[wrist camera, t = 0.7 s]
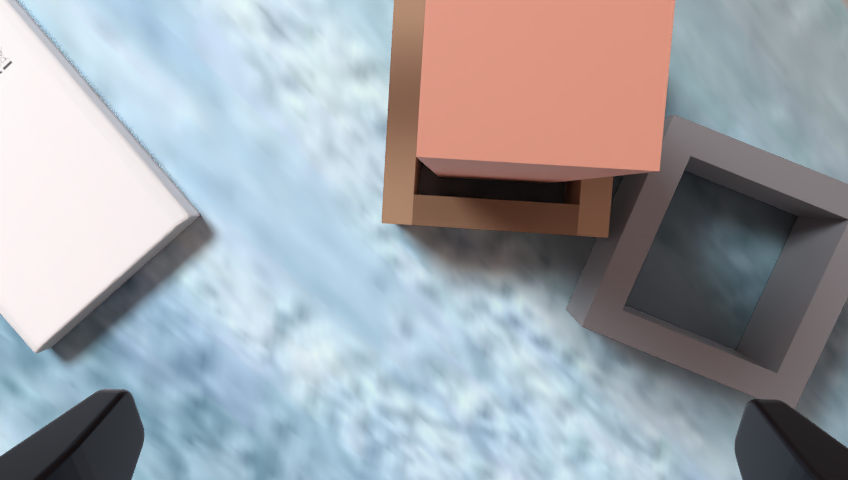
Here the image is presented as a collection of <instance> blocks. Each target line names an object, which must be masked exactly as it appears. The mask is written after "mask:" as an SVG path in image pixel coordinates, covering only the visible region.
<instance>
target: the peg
mask: <svg viewBox="0 0 848 480" xmlns="http://www.w3.org/2000/svg"><path fill="white" fill-rule="evenodd" d="M674 7H675V0H426V1H425V17H424V34H423V50H422V67H421V84H420V100H419V117H418V133H417V150H416V157H417V158H418V159H419V160H420V161H421V162H423V163H424V164H425V165H426V166H427V167H428V168H429V169H430V170H432V171H433V172H434V173H435V174H436V175H437V176H438V177H449V178H465V179H482V180H498V181H514V182H531V183H555V182H564V181H573V180H583V179H592V178H601V177H611V176H620V175H629V174H639V173H648V172H657V171H660V160H661V150H662V139H663V128H664V117H665V106H666V95H667V84H668V73H669V62H670V51H671V40H672V29H673V18H674Z"/></svg>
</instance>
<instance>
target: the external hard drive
mask: <svg viewBox="0 0 848 480" xmlns="http://www.w3.org/2000/svg"><path fill="white" fill-rule="evenodd" d="M199 216H200V213H199V212H198V211H197V209H196V208H195V207H194V206H193V205H192V204H191V202H190V201H189V200H188V199H187V198H186V197H185V196H184V194H183V193H182V192H181V191H180V190H179V189H178V187H177V186H176V185H175V184H174V183H173V182H172V180H171V179H170V178H169V177H168V176H167V174H166V173H165V172H164V171H163V170H162V169H161V168H160V167H159V165H158V164H157V163H156V162H155V161H154V160H153V159H152V157H151V156H150V155H149V154H148V153H147V151H146V150H145V149H144V148H143V147H142V146H141V144H140V143H139V142H138V141H137V140H136V139H135V138H134V136H133V135H132V134H131V133H130V132H129V131H128V129H127V128H126V127H125V126H124V125H123V123H122V122H121V121H120V120H119V119H118V118H117V117H116V115H115V114H114V113H113V112H112V111H111V110H110V109H109V107H108V106H107V105H106V104H105V103H104V101H103V100H102V99H101V98H100V97H99V95H98V94H97V93H96V92H95V91H94V90H93V89H92V87H91V86H90V85H89V84H88V83H87V82H86V80H85V79H84V78H83V77H82V76H81V75H80V74H79V72H78V71H77V70H76V69H75V68H74V66H73V65H72V64H71V63H70V62H69V61H68V60H67V58H66V57H65V56H64V55H63V54H62V52H61V51H60V50H59V49H58V48H57V47H56V45H55V44H54V43H53V42H52V41H51V40H50V38H49V37H48V36H47V35H46V34H45V33H44V32H43V30H42V29H41V28H40V27H39V26H38V25H37V23H36V22H35V21H34V20H33V19H32V18H31V16H30V15H29V14H28V13H27V12H26V11H25V9H24V8H23V7H22V6H21V5H20V4H19V3H18V1H17V0H0V313H1V314H2V316H3V317H4V318H5V319H6V320H7V321H8V322H9V324H10V325H11V326H12V327H13V328H14V329H15V331H16V332H17V333H18V334H19V335H20V336H21V337H22V339H23V340H24V341H25V342H26V343H27V344H28V346H29V347H30V348H31V349H32V350H33V351H34V352H35V353H39V352H41V351H43V350H46V349H49V348H51V347H52V346H54V345H55V344H56V343H57V342H58V341H60V340H61V339H62V338H63V337H64V336H65V335H66V334H67V333H69V332H70V331H71V330H72V329H73V328H74V327H75V326H76V325H78V324H79V323H80V322H81V321H82V320H83V319H84V318H85V317H86V316H88V315H89V314H90V313H91V312H92V311H93V310H94V309H96V308H97V307H98V306H99V305H100V304H101V303H102V302H103V301H105V300H106V299H107V298H108V297H109V296H110V295H111V294H112V293H114V292H115V291H116V290H117V289H118V288H119V287H120V286H121V285H123V284H124V283H125V282H126V281H127V280H128V279H129V278H130V277H132V276H133V275H134V274H135V273H136V272H137V271H138V270H140V269H141V268H142V267H143V266H144V265H145V264H146V263H147V262H149V261H150V260H151V259H152V258H153V257H154V256H155V255H157V254H158V253H159V252H160V251H161V250H162V249H163V248H164V247H166V246H167V245H168V244H169V243H170V242H171V241H172V240H174V239H175V238H176V237H177V236H178V235H179V234H180V233H181V232H183V231H184V230H185V229H186V228H187V227H188V226H189V225H191V224H192V223H193V222H194V221H195V220H196V219H197V218H198V217H199Z"/></svg>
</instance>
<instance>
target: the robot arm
mask: <svg viewBox="0 0 848 480" xmlns="http://www.w3.org/2000/svg"><path fill="white" fill-rule="evenodd" d="M143 442H144V428H143V424H142V421H141V418H140V416H139V413H138V410H137V407H136V404H135V401H134V398H133V396H132V394H131V393H130V392H129V391H128V390H124V389H103V390H99V391H97V392H95V393H94V394H92V395H91V396H89V397H88V398H86V399H85V400H83V401H82V402H80V403H79V404H77V405H76V406H74V407H73V408H71V409H70V410H68V411H67V412H65V413H64V414H63V415H61V416H60V417H58V418H57V419H55V420H54V421H52V422H51V423H49V424H48V425H46V426H45V427H43V428H42V429H40V430H39V431H37V432H36V433H34V434H33V435H31V436H30V437H28V438H27V439H25V440H24V441H22V442H21V443H19V444H18V445H16V446H15V447H13V448H12V449H11V450H9V451H8V452H6V453H5V454H3V455H2V456H0V480H131V479H132V476H133V473H134V470H135V467H136V464H137V461H138V458H139V455H140V452H141V449H142V446H143ZM735 455H736V459H737V462H738V466H739V469H740V473H741V476H742V479H743V480H848V448H847V447H845V446H844V445H843V444H841V443H840V442H838V441H837V440H836V439H834V438H833V437H832V436H830V435H829V434H827V433H826V432H825V431H823V430H822V429H821V428H819V427H818V426H816V425H815V424H814V423H812V422H811V421H810V420H808V419H807V418H805V417H804V416H803V415H801V414H800V413H799V412H797V411H796V410H795V409H793V408H792V407H790V406H789V405H788V404H786V403H785V402H783V401H781V400H776V399H753V400H750V401H749V402H748V403H747V405H746V407H745V410H744V413H743V416H742V419H741V422H740V425H739V429H738V432H737V435H736V438H735Z"/></svg>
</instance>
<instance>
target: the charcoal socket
mask: <svg viewBox="0 0 848 480" xmlns="http://www.w3.org/2000/svg"><path fill="white" fill-rule="evenodd" d="M684 171H687V172H689V173H692V174H694V175H697V176H699V177H702V178H704V179H707V180H709V181H712V182H714V183H717V184H719V185H722V186H724V187H727V188H729V189H732V190H734V191H736V192H739V193H741V194H744V195H746V196H749V197H751V198H754V199H756V200H759V201H761V202H764V203H766V204H769V205H771V206H774V207H776V208H779V209H781V210H784V211H786V212H789V213H791V214H794V215H796V216H798V217H797V219H796V221H795V223H794V226H793V228H792V230H791V232H790V234H789V236H788V239H787V241H786V243H785V245H784V247H783V249H782V252H781V254H780V256H779V258H778V260H777V262H776V265H775V267H774V269H773V271H772V273H771V275H770V277H769V280H768V282H767V284H766V286H765V288H764V290H763V293H762V295H761V297H760V299H759V301H758V303H757V306H756V308H755V310H754V312H753V314H752V316H751V319H750V321H749V323H748V325H747V327H746V329H745V331H744V334H743V336H742V338H741V340H740V342H739V344H738V347H737V349H736V350H734V349H732V348H729V347H727V346H724V345H722V344H720V343H717V342H715V341H712V340H710V339H707V338H705V337H702V336H700V335H697V334H695V333H693V332H690V331H688V330H685V329H683V328H680V327H678V326H675V325H673V324H670V323H668V322H666V321H663V320H661V319H658V318H656V317H653V316H651V315H648V314H646V313H644V312H641V311H639V310H636V309H634V308H631V307H629V306H626V305H625V303H626V301H627V299H628V296H629V294H630V292H631V290H632V287H633V285H634V283H635V280H636V278H637V276H638V274H639V271H640V269H641V267H642V265H643V262H644V260H645V258H646V256H647V253H648V251H649V249H650V247H651V244H652V242H653V240H654V237H655V235H656V233H657V231H658V228H659V226H660V224H661V222H662V219H663V217H664V215H665V213H666V210H667V208H668V206H669V204H670V201H671V199H672V197H673V195H674V192H675V190H676V188H677V185H678V183H679V181H680V179H681V176H682V174H683V172H684ZM847 298H848V184H846V183H844V182H841V181H839V180H836V179H834V178H831V177H829V176H826V175H824V174H821V173H819V172H816V171H814V170H811V169H809V168H806V167H804V166H801V165H799V164H796V163H794V162H791V161H789V160H786V159H784V158H781V157H779V156H776V155H774V154H771V153H769V152H766V151H764V150H761V149H759V148H756V147H754V146H751V145H749V144H746V143H744V142H741V141H739V140H736V139H734V138H731V137H729V136H726V135H724V134H721V133H719V132H716V131H714V130H711V129H709V128H706V127H704V126H701V125H699V124H696V123H694V122H691V121H689V120H686V119H684V118H681V117H679V116H676V115H672V116H669V117H666V118H664V128H663V139H662V150H661V160H660V171H657V172H648V173H639V174H629V175H624V176H623V178H622V181H621V183H620V185H619V188H618V190H617V192H616V195H615V197H614V199H613V202H612V204H611V210H610V221H609V233H608V238H605V237H597V238H596V241H595V243H594V245H593V248H592V250H591V252H590V255H589V257H588V259H587V262H586V264H585V266H584V269H583V271H582V273H581V275H580V278H579V280H578V282H577V285H576V287H575V289H574V292H573V294H572V296H571V299H570V301H569V303H568V305H567V308H566V310H567V311H568V312H569V313H570V314H571V316H572V317H573V318H574V319H575V320H576V321H577V322H578V323H579V324H580V325H581V326H582V327H584V328H587V329H589V330H592V331H594V332H597V333H599V334H601V335H604V336H606V337H609V338H611V339H614V340H616V341H619V342H621V343H623V344H626V345H628V346H631V347H633V348H636V349H638V350H641V351H643V352H645V353H648V354H650V355H653V356H655V357H658V358H660V359H663V360H665V361H667V362H670V363H672V364H675V365H677V366H680V367H682V368H685V369H687V370H689V371H692V372H694V373H697V374H699V375H702V376H704V377H707V378H709V379H711V380H714V381H716V382H719V383H721V384H724V385H726V386H729V387H731V388H733V389H736V390H738V391H741V392H743V393H746V394H748V395H750V396H753V397H755V398H758V399H776V400H781V401H783V402H785V403H786V404H788V405H789V406H790V407H792V408H793V409H795V407H796V405H797V403H798V401H799V399H800V397H801V395H802V392H803V390H804V388H805V386H806V384H807V382H808V380H809V378H810V376H811V374H812V372H813V369H814V367H815V365H816V363H817V361H818V359H819V357H820V355H821V353H822V351H823V348H824V346H825V344H826V342H827V340H828V338H829V336H830V334H831V332H832V330H833V327H834V325H835V323H836V321H837V319H838V317H839V315H840V313H841V311H842V309H843V306H844V304H845V302H846V300H847Z"/></svg>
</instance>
